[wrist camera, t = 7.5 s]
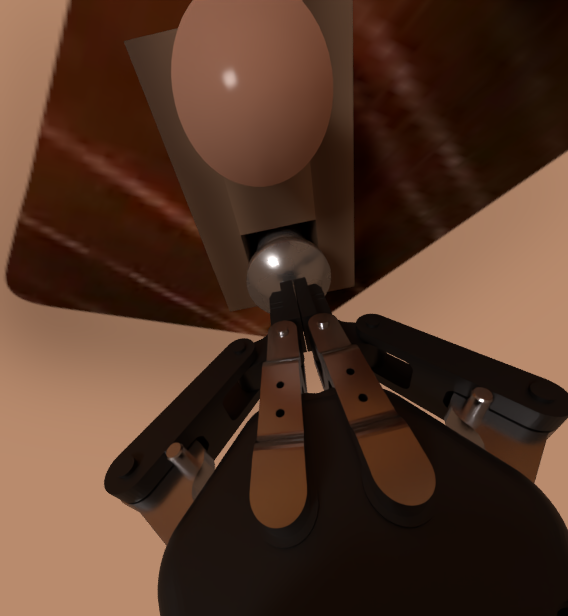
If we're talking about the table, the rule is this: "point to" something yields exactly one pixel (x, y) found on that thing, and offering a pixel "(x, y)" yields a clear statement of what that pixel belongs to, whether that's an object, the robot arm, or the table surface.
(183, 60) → the terracotta plug
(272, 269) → the grey plug
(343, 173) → the socket board
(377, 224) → the table surface
